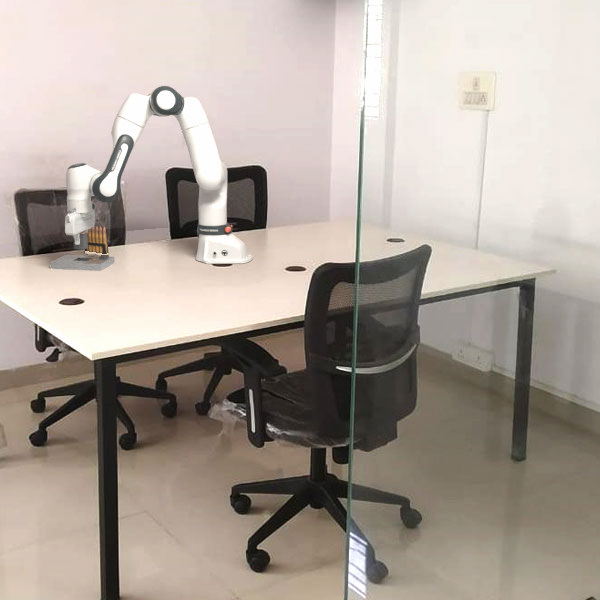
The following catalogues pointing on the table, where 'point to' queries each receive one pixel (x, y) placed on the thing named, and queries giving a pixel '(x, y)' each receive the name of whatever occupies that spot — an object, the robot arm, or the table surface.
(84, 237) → the plug
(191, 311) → the table surface
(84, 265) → the socket plate
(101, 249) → the ammunition clip
